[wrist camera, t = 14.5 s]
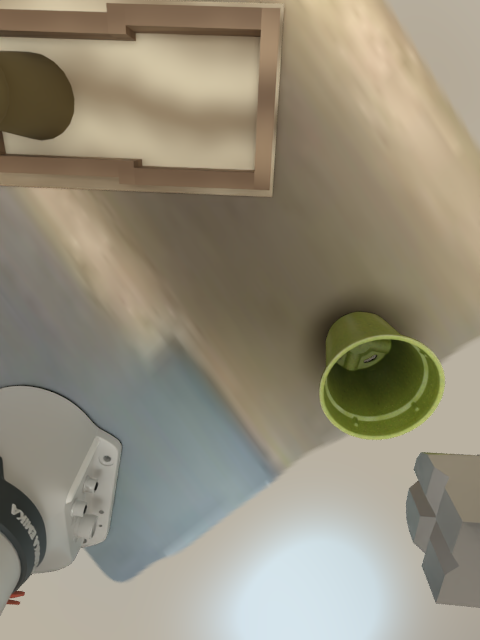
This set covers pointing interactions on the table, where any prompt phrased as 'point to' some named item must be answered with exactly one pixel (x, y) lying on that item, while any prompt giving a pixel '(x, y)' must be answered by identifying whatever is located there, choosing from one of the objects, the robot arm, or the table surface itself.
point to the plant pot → (377, 379)
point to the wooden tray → (152, 95)
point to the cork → (34, 96)
